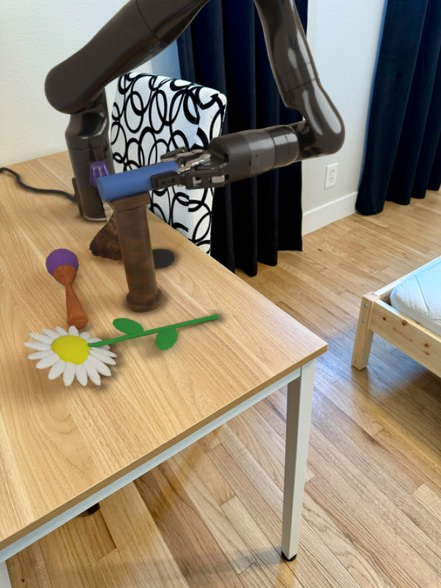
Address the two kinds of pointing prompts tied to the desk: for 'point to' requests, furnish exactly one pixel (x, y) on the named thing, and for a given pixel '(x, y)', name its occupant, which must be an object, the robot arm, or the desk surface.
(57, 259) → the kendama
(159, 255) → the coaster
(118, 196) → the tube
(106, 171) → the toy lamp
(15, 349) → the desk surface
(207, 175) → the robot arm
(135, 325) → the decorative flower
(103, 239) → the decorative rock
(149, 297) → the post
